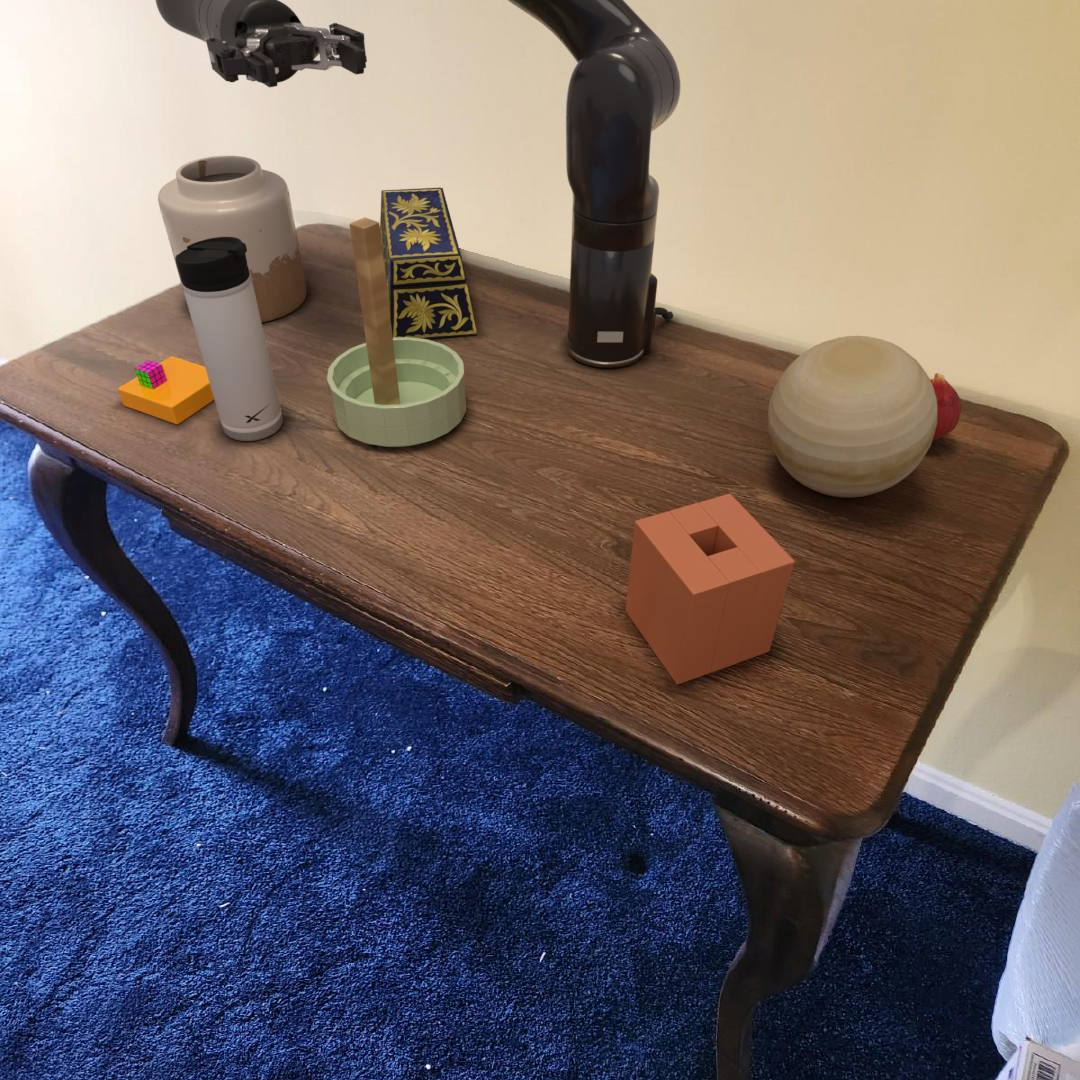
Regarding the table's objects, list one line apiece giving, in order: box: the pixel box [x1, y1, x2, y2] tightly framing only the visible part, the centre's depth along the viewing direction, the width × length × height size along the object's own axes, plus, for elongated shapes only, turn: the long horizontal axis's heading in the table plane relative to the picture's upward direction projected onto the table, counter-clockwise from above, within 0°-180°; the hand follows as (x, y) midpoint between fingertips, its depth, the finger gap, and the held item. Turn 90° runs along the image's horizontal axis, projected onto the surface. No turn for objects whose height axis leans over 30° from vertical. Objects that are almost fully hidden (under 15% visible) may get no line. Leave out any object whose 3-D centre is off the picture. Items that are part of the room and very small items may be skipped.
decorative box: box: [379, 187, 478, 340], centre depth 114 cm, size 11×30×9 cm, turn 10°
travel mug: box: [174, 237, 284, 442], centre depth 85 cm, size 6×7×20 cm
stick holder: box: [624, 493, 796, 686], centre depth 67 cm, size 9×9×10 cm
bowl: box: [326, 337, 467, 448], centre depth 92 cm, size 14×14×6 cm
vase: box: [157, 155, 308, 324], centre depth 108 cm, size 15×15×17 cm
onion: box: [930, 372, 962, 441], centre depth 88 cm, size 6×6×8 cm
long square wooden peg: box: [349, 217, 400, 405], centre depth 87 cm, size 2×2×20 cm
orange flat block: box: [117, 355, 215, 425], centre depth 94 cm, size 8×8×4 cm
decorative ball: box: [766, 335, 937, 499], centre depth 81 cm, size 15×15×15 cm
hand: (317, 68), depth 79 cm, fingers open, 8 cm apart
